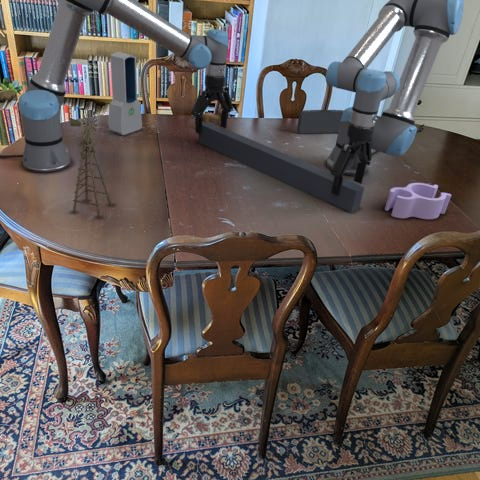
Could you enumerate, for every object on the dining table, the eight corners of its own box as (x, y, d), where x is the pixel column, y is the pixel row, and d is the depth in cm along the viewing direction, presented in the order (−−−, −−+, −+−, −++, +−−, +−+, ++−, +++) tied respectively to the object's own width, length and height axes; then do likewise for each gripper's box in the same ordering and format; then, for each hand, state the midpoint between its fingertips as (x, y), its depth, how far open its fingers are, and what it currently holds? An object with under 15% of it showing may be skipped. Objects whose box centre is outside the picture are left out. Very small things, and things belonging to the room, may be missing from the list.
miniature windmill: (98, 218, 133) (90, 115, 117) (71, 213, 134) (59, 110, 118) (112, 203, 141) (106, 105, 124) (86, 199, 142) (76, 100, 125)
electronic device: (121, 136, 186) (117, 57, 170) (107, 131, 189) (102, 53, 173) (142, 128, 196) (141, 53, 179) (129, 124, 199) (126, 49, 182)
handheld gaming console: (340, 130, 217) (344, 109, 212) (343, 132, 215) (347, 111, 209) (295, 131, 210) (299, 109, 204) (298, 134, 208) (301, 111, 202)
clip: (399, 222, 147) (405, 203, 144) (377, 203, 157) (382, 185, 153) (449, 217, 154) (457, 198, 150) (426, 199, 163) (432, 181, 160)
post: (198, 142, 189) (199, 123, 185) (207, 139, 192) (208, 121, 188) (351, 212, 150) (356, 191, 146) (358, 207, 154) (364, 186, 149)
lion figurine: (226, 125, 208) (227, 105, 203) (230, 130, 204) (231, 109, 199) (194, 126, 203) (195, 106, 198) (197, 131, 199) (198, 110, 194)
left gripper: (197, 81, 163) (194, 139, 175) (245, 74, 180) (239, 127, 191) (183, 76, 167) (181, 133, 179) (231, 69, 184) (226, 122, 195)
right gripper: (350, 137, 130) (335, 204, 141) (392, 120, 146) (376, 181, 157) (327, 129, 134) (315, 194, 145) (371, 113, 150) (357, 173, 161)
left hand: (211, 130), depth 185 cm, fingers open, 13 cm apart
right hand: (346, 188), depth 151 cm, fingers open, 13 cm apart
